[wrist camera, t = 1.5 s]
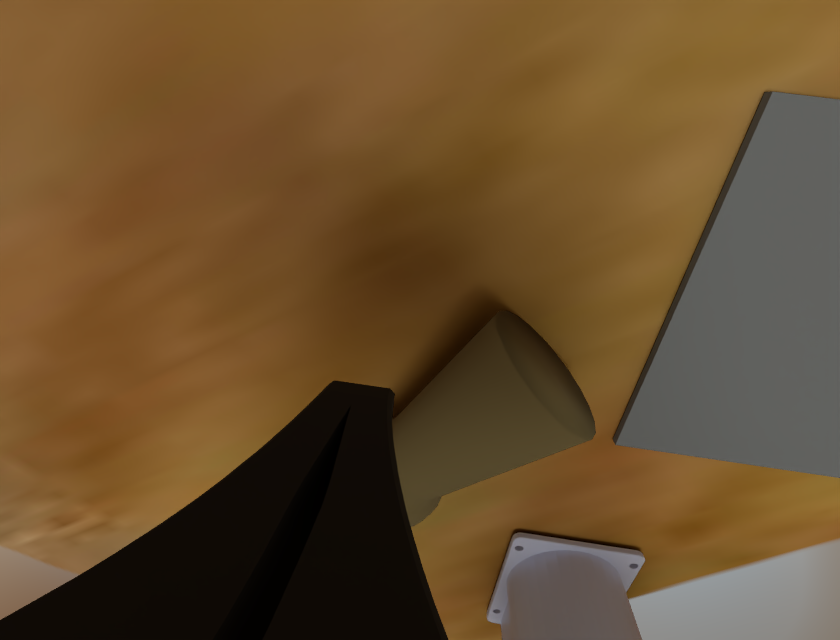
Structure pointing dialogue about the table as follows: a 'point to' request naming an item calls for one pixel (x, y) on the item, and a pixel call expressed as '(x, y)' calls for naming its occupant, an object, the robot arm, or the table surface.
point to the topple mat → (757, 309)
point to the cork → (487, 415)
